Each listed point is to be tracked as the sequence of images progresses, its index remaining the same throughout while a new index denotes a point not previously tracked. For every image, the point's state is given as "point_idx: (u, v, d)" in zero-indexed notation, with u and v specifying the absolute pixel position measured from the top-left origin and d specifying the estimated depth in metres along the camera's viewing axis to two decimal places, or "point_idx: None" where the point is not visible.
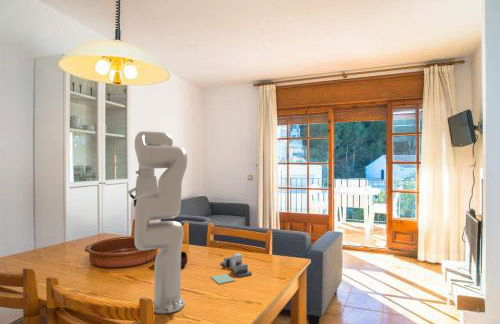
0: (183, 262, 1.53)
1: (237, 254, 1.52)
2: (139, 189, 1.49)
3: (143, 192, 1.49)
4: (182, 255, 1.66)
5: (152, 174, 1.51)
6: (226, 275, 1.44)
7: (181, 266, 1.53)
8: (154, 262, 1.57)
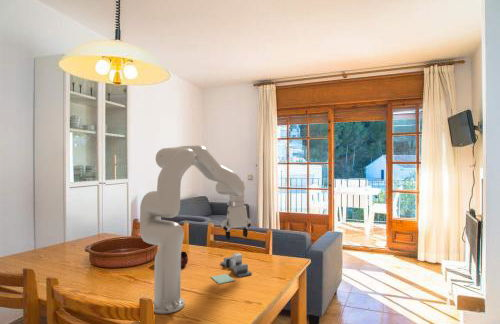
0: (183, 262, 1.54)
1: (237, 254, 1.52)
2: (232, 221, 1.48)
3: (235, 224, 1.49)
4: (182, 255, 1.67)
5: (243, 205, 1.51)
6: (226, 275, 1.44)
7: (181, 266, 1.53)
8: None
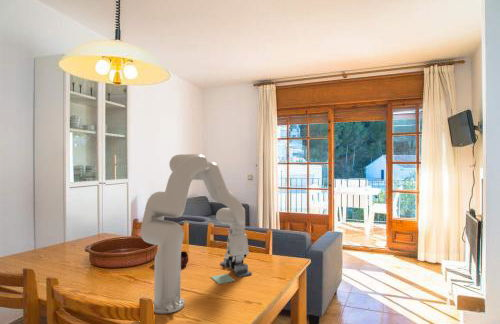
0: (184, 262, 1.54)
1: None
2: (232, 249, 1.47)
3: (236, 252, 1.48)
4: (183, 255, 1.67)
5: (244, 233, 1.50)
6: (226, 275, 1.44)
7: (182, 266, 1.53)
8: None
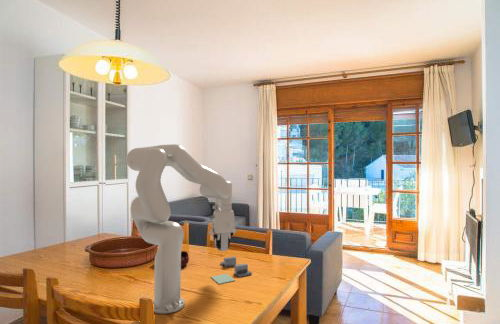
0: (184, 261, 1.54)
1: None
2: (217, 226, 1.36)
3: (221, 229, 1.37)
4: (183, 255, 1.67)
5: (230, 209, 1.39)
6: (226, 275, 1.44)
7: (182, 265, 1.54)
8: None
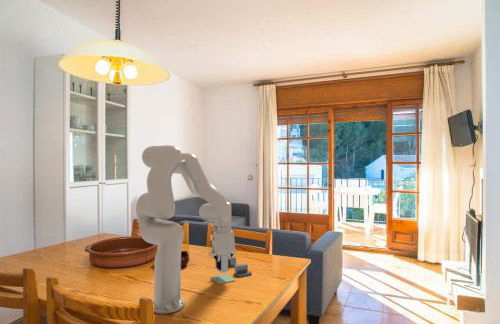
0: (185, 261, 1.54)
1: None
2: (217, 248, 1.36)
3: (221, 251, 1.37)
4: (184, 254, 1.67)
5: (230, 230, 1.39)
6: (226, 275, 1.44)
7: (183, 265, 1.54)
8: None
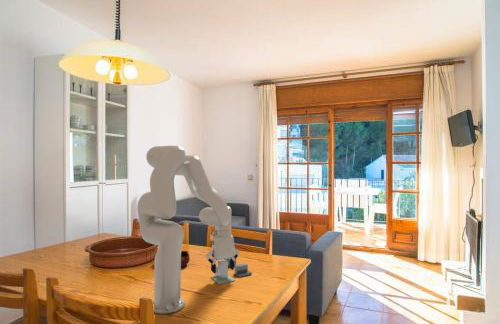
0: (185, 261, 1.55)
1: (223, 261, 1.40)
2: (217, 252, 1.36)
3: (221, 255, 1.37)
4: (184, 254, 1.68)
5: (230, 235, 1.39)
6: None
7: (183, 265, 1.54)
8: None
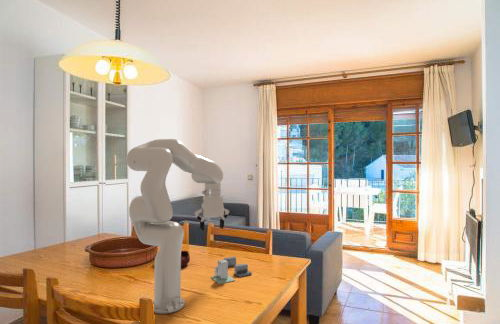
0: (185, 261, 1.55)
1: (223, 261, 1.40)
2: (206, 210, 1.41)
3: (210, 213, 1.42)
4: (184, 254, 1.68)
5: (219, 194, 1.44)
6: None
7: (183, 265, 1.54)
8: None
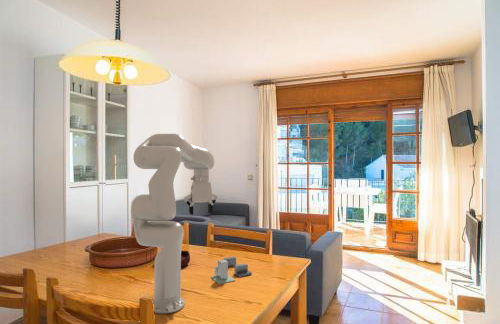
0: (186, 261, 1.55)
1: (223, 261, 1.40)
2: (195, 195, 1.47)
3: (199, 198, 1.48)
4: (185, 254, 1.68)
5: (207, 180, 1.50)
6: None
7: (184, 265, 1.54)
8: None
